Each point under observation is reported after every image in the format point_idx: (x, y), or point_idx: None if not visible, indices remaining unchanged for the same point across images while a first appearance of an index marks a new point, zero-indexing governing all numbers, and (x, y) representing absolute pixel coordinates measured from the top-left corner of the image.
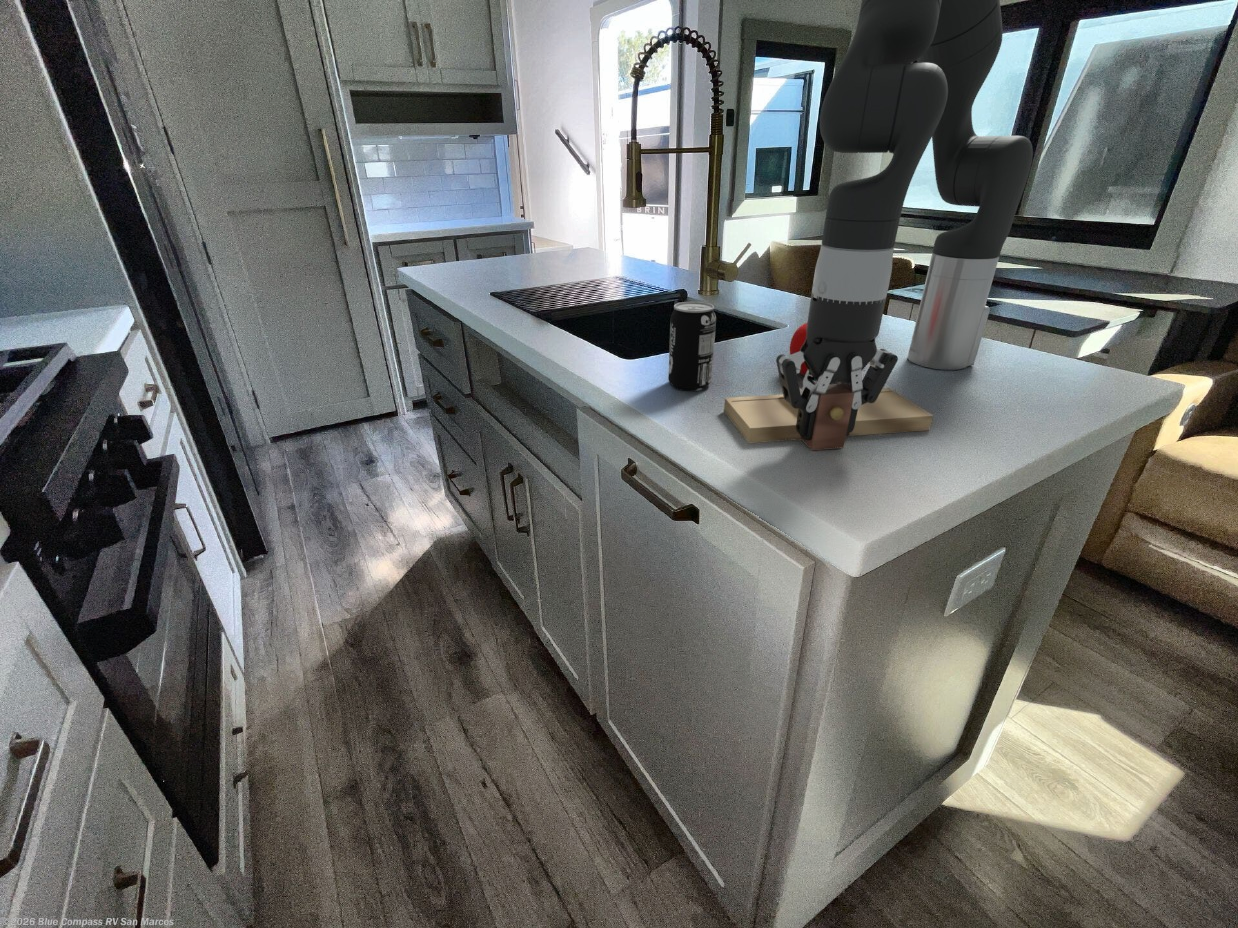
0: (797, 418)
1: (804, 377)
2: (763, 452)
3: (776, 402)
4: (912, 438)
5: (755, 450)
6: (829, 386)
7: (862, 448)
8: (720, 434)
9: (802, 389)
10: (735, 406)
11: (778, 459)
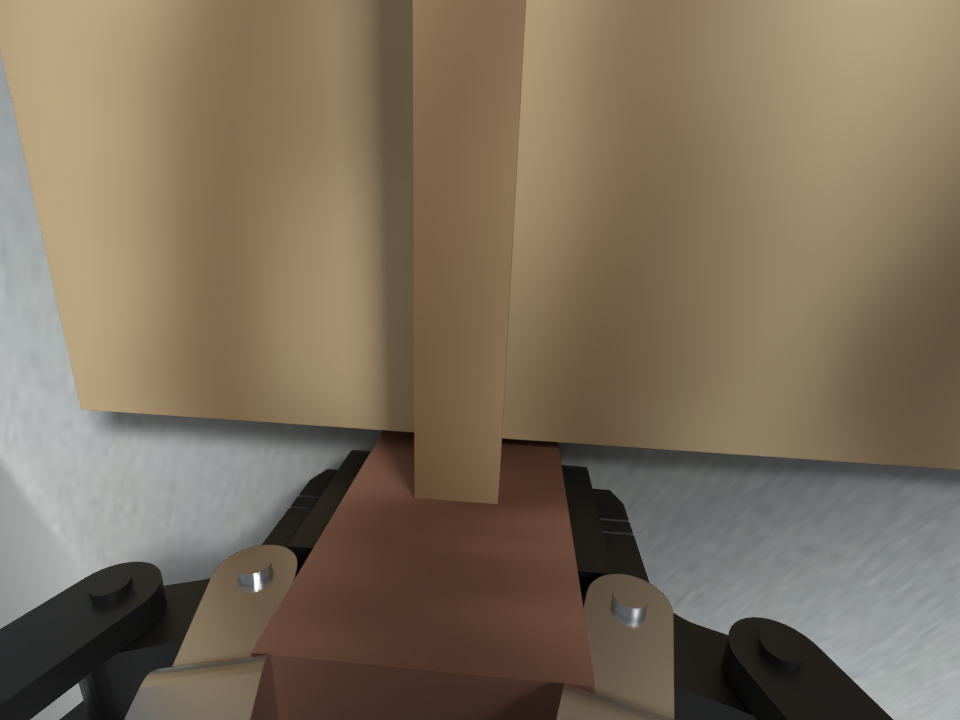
0: (285, 517)
1: (127, 715)
2: (194, 469)
3: (340, 36)
4: (956, 499)
5: (164, 446)
6: (430, 711)
7: (636, 530)
8: (24, 255)
9: (183, 653)
10: (24, 58)
11: (239, 533)
